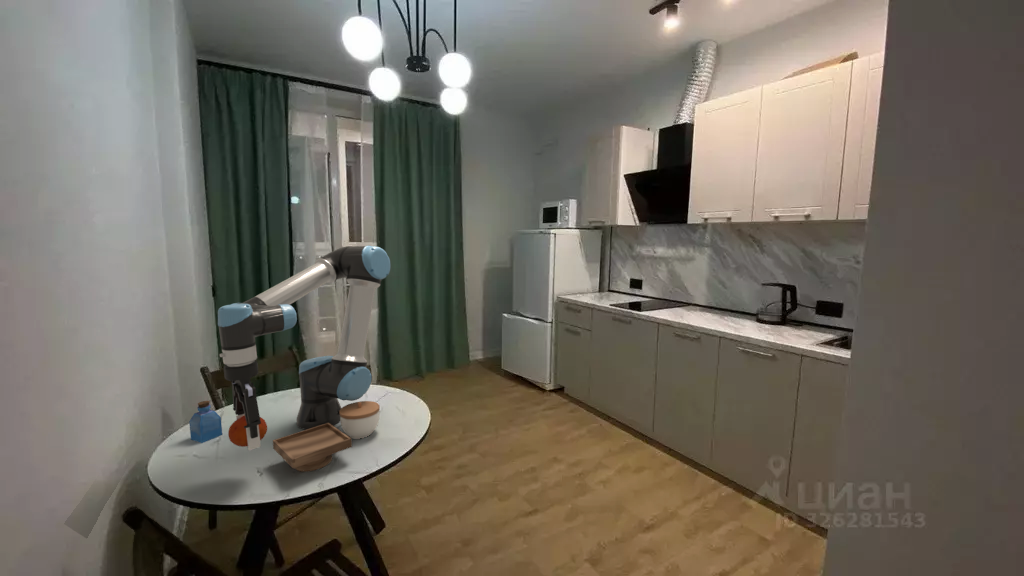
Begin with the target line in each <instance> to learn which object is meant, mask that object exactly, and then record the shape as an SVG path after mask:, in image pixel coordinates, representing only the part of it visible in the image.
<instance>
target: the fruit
mask: <svg viewBox="0 0 1024 576" xmlns="http://www.w3.org/2000/svg"><path fill="white" fill-rule="evenodd" d="M260 421H261V424H259V435H260V441H262V440H263V439H264V437H265V435H266V434H267V432H268V425H267V422H266V420H265V419H264V418H263V417H261V416H260ZM246 425H247V423H246V419H245V416H242V417H240V418H239V419H236V420H234V421H233V422H232V423H231V425H230V426H229V429H228V434H227V435H228V439H229V441H230V443H232V444H233V445H235V446H238V447H242V448H244V447H248V442H247V433H246V428H244V426H246Z"/></svg>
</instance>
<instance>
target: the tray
mask: <svg viewBox="0 0 1024 576" xmlns="http://www.w3.org/2000/svg"><path fill="white" fill-rule="evenodd" d="M352 439H353V438H351V437H350V436H349V435H347V434H346V433H345V432H344V431H341V430H340V429H338V428H337V427H336V426H334V425H331V424H330V423H326V424H323V425H319V426H316V427H313V428H310V429H303V430H301V431H299V432H294V433H292V434H288V435H285V436H282V437H279V438H276V439H273V440H272V447H273V448H272V449H274V451H275V452H276V453H277V454H278V455H279V456H280V457H281V458H282V459H283V460H284V462H286V463H287V464H288V465H289V466H290V467H291V468H292V469H294V470H296V471H298V472H303V473H304V472H306V473H308V472H314V471H317V470H320V469H323V468H325V467H326V466H328V465H329V464H330V463H332V461H333V454H336V453H340V452H342V451H344V450H346V449H347V450H348V449H350V448H352V447H353V445H352V444H353V443H352V442H353V440H352Z"/></svg>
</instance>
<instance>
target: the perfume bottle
mask: <svg viewBox="0 0 1024 576" xmlns="http://www.w3.org/2000/svg"><path fill="white" fill-rule="evenodd" d="M197 405H198V406H197V412H195V413H193V415H192V416H191V418H190V420H189V423H188V424H189V433H190V440H192V441H194V442H196V443H197V442H198V443H200V444H203V443H206V442H208V441H210V440H211V441H212V440H213V439H216V438H219V437H221V436H223V427H222V426H223V425H222V418H221V416H220V414H219V413H217V411H216V410H212V409H211V404H210V400H204V401H203V400H202V401H199V402H198V403H197Z"/></svg>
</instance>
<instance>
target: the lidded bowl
mask: <svg viewBox="0 0 1024 576" xmlns="http://www.w3.org/2000/svg"><path fill="white" fill-rule="evenodd" d="M380 409H381V407H380V403H378V402H376V401H372V400H361V401H354V402H351V403H348V404H346V405H344V406H341V409H340V411H339V413H340V426H341V428H342V430H343V433H344V434H346V435H347V436H349V437H350V438H351V439H353V440H354V439H355V440H359V439H360V438H362V439H365V438H364V437H366V438H367V436H368V437H370V436H371V435H372V434H373V432H374V431H375V430H376V429H377V427H378V425H379V421H380ZM371 433H372V434H371ZM370 434H371V435H370ZM369 435H370V436H369ZM360 440H361V439H360Z"/></svg>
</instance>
